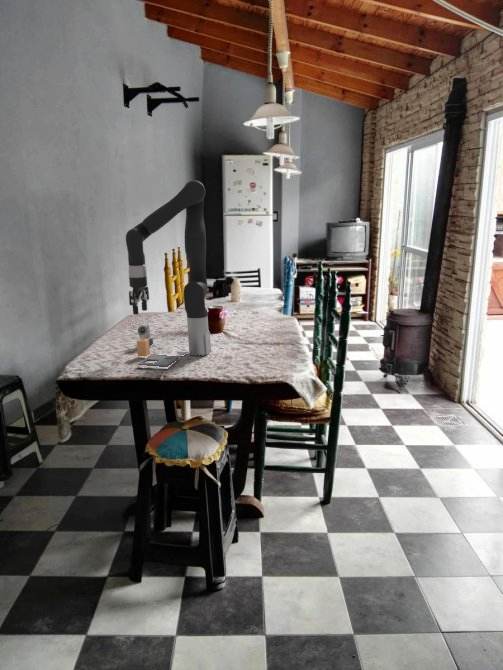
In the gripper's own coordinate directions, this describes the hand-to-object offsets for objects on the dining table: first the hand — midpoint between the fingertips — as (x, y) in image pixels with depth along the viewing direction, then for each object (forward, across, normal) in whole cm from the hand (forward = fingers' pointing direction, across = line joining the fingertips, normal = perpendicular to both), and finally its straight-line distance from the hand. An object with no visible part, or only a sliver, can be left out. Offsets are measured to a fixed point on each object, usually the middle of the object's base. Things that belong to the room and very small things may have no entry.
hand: (140, 312), depth 226 cm
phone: (+21, +6, -12) cm, 25 cm away
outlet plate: (+20, -9, -12) cm, 25 cm away
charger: (+20, 0, 0) cm, 21 cm away
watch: (+21, +17, +7) cm, 28 cm away
